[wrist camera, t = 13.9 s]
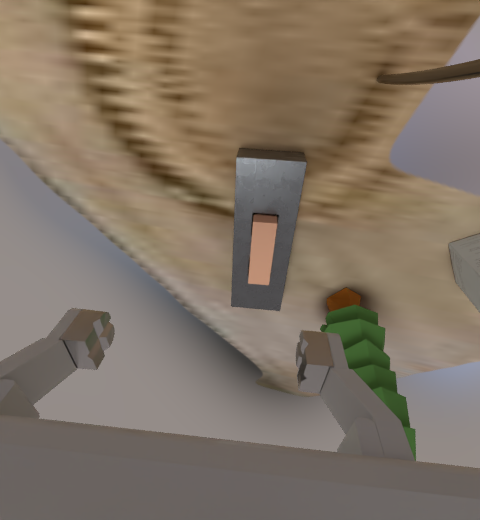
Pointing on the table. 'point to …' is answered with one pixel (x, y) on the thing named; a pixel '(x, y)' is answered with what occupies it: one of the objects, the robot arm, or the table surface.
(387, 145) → the table surface
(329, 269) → the table surface
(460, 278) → the skincare box
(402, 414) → the decorative tree
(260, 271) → the brown block
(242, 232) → the grey metal flat block
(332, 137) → the table surface
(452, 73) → the juicer
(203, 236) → the table surface
